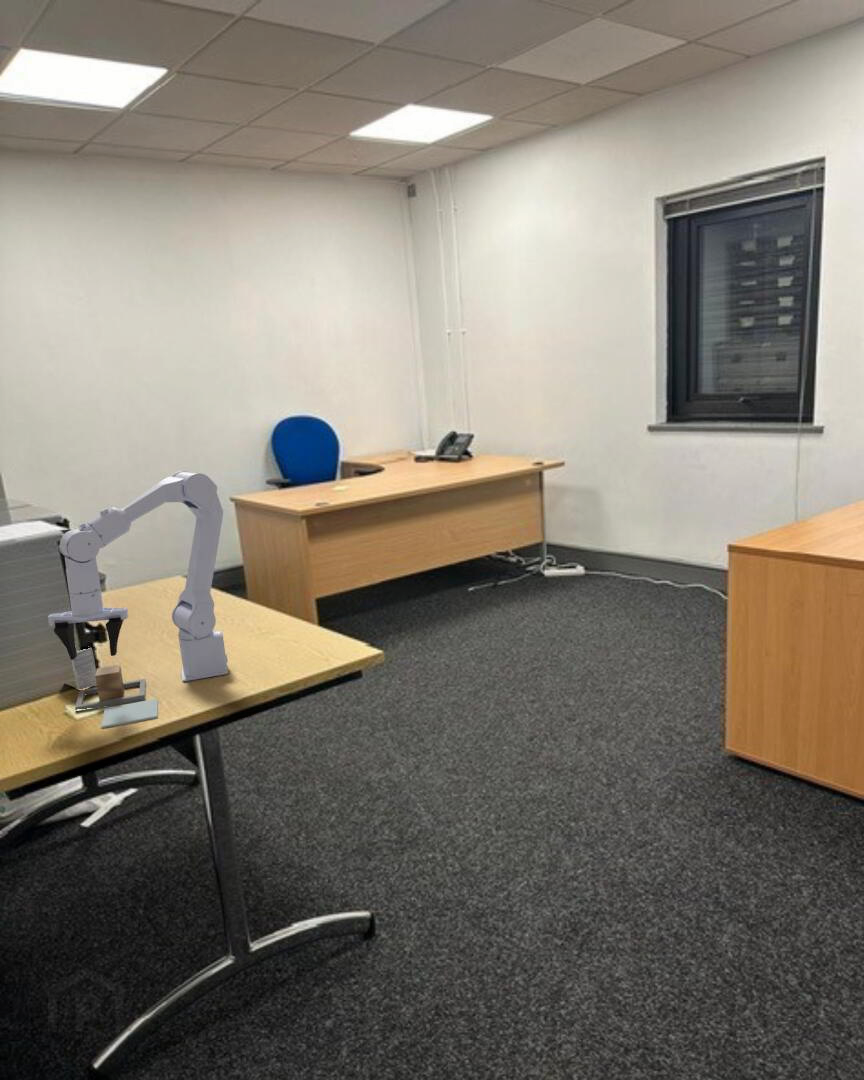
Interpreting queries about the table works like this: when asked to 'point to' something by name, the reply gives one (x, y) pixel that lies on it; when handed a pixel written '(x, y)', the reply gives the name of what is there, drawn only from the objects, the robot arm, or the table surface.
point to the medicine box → (84, 669)
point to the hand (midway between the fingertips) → (93, 656)
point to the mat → (130, 713)
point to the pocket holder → (112, 701)
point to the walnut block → (109, 682)
